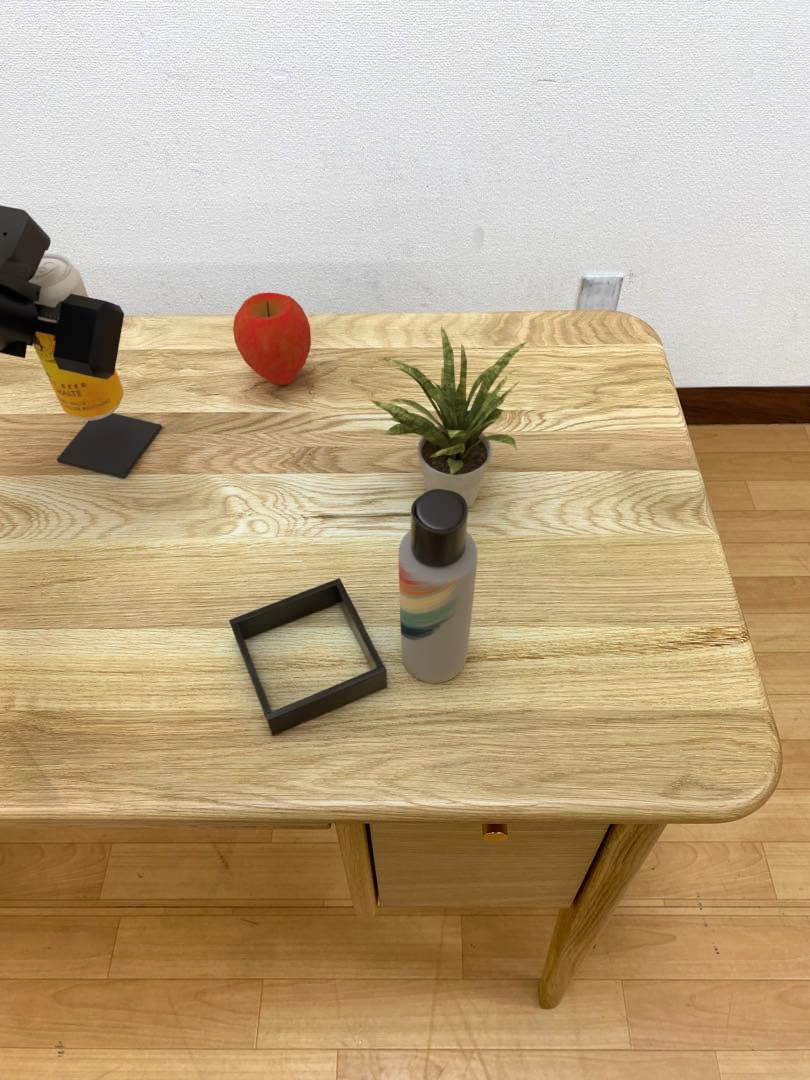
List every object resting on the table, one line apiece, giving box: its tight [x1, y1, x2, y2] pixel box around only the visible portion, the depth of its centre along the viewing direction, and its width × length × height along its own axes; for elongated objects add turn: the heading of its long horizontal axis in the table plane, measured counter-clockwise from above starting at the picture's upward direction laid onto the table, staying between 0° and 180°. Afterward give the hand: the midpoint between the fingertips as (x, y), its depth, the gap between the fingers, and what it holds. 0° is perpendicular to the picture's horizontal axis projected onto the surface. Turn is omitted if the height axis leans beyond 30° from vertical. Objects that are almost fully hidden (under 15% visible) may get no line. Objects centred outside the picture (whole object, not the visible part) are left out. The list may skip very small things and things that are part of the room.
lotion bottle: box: [397, 489, 478, 684], centre depth 59 cm, size 6×6×20 cm
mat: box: [56, 412, 163, 479], centre depth 83 cm, size 8×8×1 cm
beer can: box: [29, 252, 125, 422], centre depth 72 cm, size 6×6×15 cm
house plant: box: [368, 324, 528, 509], centre depth 72 cm, size 14×14×16 cm
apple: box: [232, 292, 312, 386], centre depth 85 cm, size 9×8×11 cm
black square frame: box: [228, 577, 388, 737], centre depth 65 cm, size 10×10×3 cm
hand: (79, 338), depth 73 cm, fingers closed on beer can, 6 cm apart
